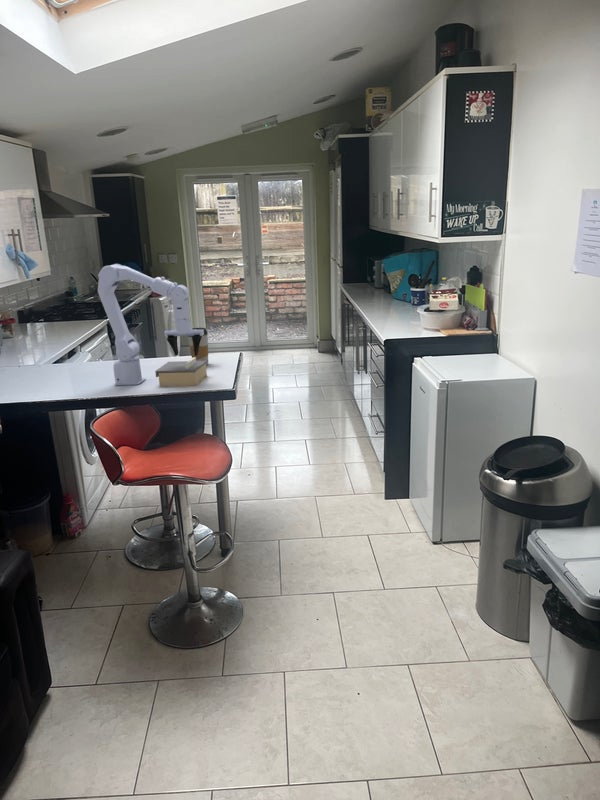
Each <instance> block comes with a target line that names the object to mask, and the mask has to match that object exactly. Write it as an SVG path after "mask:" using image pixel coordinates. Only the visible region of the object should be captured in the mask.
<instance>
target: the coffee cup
mask: <svg viewBox="0 0 600 800" xmlns="http://www.w3.org/2000/svg"><path fill="white" fill-rule="evenodd" d="M191 329H194V330H204V335H203V336H202V338H201V341H200V344H199V349H198V355H195V354H194V345H193V341H192V337H193V336H187V338H188V344H189V349H190V354H191V359H192V358H193V357H196V361H206V366H207V365H209V344H208V343H209V342H208V331H207V329H206V327H194V328H193V327H191Z"/></svg>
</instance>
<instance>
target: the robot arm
mask: <svg viewBox="0 0 600 800" xmlns="http://www.w3.org/2000/svg"><path fill="white" fill-rule="evenodd" d="M97 277H98V282H97V283H98V284H97V293H98V296H99V298H100V301H101V304H102V306H103V309H104V311H105V313H106V316H107V319H108V321H109V324H110V326H111V329H112V332H113V334H114V337H115V339H114V340H115V341H114V346H115V353H116V354H115V355H116V357H117V358H118V359H116V360H114V363H113V374H114V382H115V383H114V386H121V385H122V386H126V385H129V386H132V385H133V386H136V385H140V384H141V383H143V382H144V381H146V380H147V378H146V377H143V376H142V369H141V362H140V356H139V354H140V353H141V345H140V344H139V342H138V341H137V340H136V339H135V337H134V335H133V334H131V332H130V331H129V328H128V325H127V323H126V320H125V318H124V314H123V312H122V309H121V307H120V304H119V302H118V299H117V297H116V295H115V290H116V289H117V287H118V285H119V284H120V283H121V282H123V281H127V280H128V281H129V280H130V281H133V282H136V283H139V284H141V285H144V286H147V287H150V289H151V291H152V292H153V293H156V294H158V295H160V296H163V297H166V298H167V299H170V300H171V301H172V305H173V317H174V326H175V329H171V330H165V331H164V337H166V341H167V342H168V343H169V345H170V347H171V349H172V351H173V353H174V356H175V357H177V356H178V355H179V348H178V337H188V336H193V337H192V341H193V345H194V354H195V355H198V349H199V344H200V341H201V338H202V336H203V335H204V330H194V329H192V323H191V321H192V320H191V311H190V310H191V309H190V304H189V297H190V290H189V288H188V287H187V286H185V285H184V284H178V282H175V281H174V282H172V281H169V280H168V279H166V277H165V276H157V277H155V278H154V277H151V276H148V275H146V274H144V273H142V272H141V271H138V270H136V269H133V268H131V267H130V266H126V265H122V264H120V263H113V264H111V265H105V266H103V267H102V268H101V269H100V271H99V272H98V275H97Z"/></svg>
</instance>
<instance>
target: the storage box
mask: <svg viewBox="0 0 600 800" xmlns="http://www.w3.org/2000/svg"><path fill="white" fill-rule="evenodd" d="M207 373H208V372H207V365H206V363H205V364H204V365H203V366H202V367H200V368H199V369H198V370H197V371H196V372H159V373H158V376H159V377H158V383H159V387H178V386H179V387H180V386H182V387H183V386H184V387H187V386H191V387H192V386H198V384H200V383H201V382H202V381H203V380H204V379H205V378H207V376H208V374H207Z"/></svg>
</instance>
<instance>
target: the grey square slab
mask: <svg viewBox="0 0 600 800" xmlns="http://www.w3.org/2000/svg"><path fill="white" fill-rule="evenodd" d="M205 363H206V361H196V357H193V358H192V357H191V359H190V360H189V359H188V360H184V361H180V360H179V361H178V360H177V361H167V362H166V363H164V364H163V365H161V366H160V367H158V368H157V369H156V370H155V377H156V378H159V376H158V373H159V372H196V371H197V370H198V369H199V368H200V367H202V366H203V365H204V364H205Z"/></svg>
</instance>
